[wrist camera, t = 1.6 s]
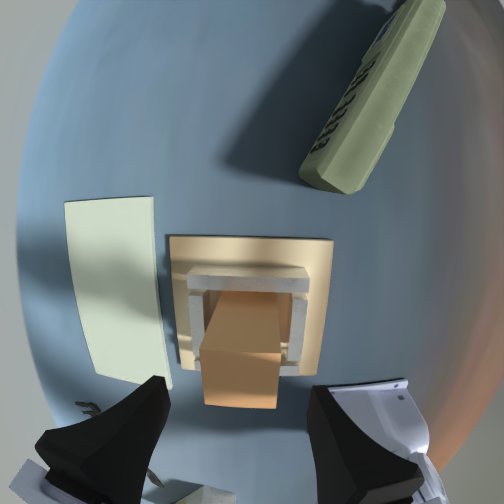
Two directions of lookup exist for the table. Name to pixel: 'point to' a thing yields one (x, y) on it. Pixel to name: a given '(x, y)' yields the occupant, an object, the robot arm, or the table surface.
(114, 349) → the mat
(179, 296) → the base plate
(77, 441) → the robot arm
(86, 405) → the adjustable wrench
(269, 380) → the plug
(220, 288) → the grey square ring
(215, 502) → the block
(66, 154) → the table surface
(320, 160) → the handheld radio
